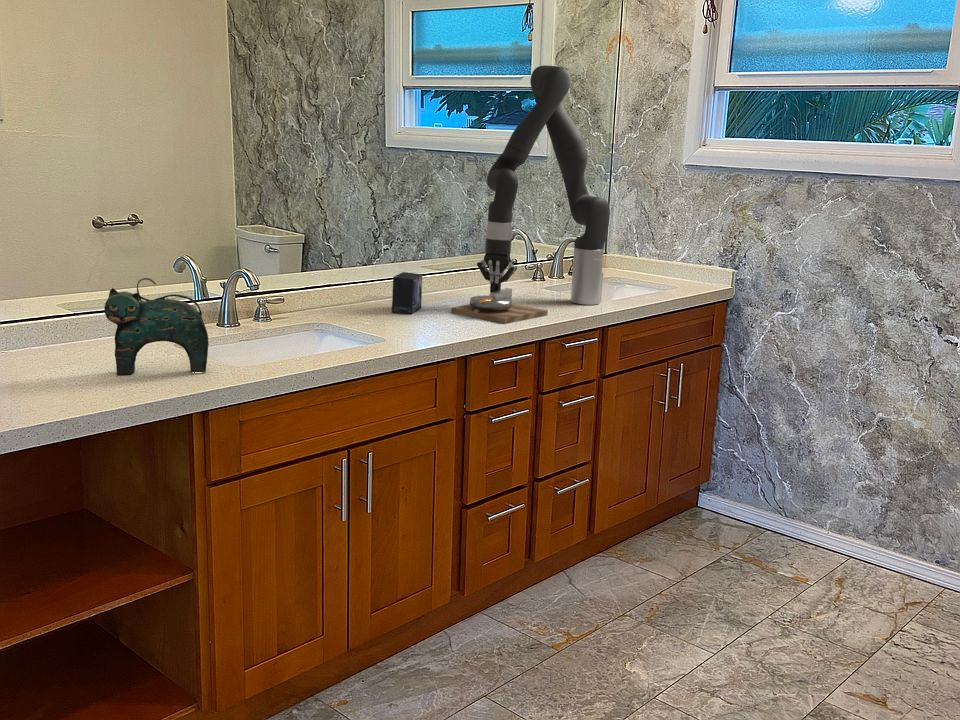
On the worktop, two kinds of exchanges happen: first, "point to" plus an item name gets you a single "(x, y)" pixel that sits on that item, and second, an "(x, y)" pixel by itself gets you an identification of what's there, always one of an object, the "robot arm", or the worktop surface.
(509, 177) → the robot arm
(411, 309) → the small box
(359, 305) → the worktop surface
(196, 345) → the ceramic cat
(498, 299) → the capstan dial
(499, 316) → the stand
